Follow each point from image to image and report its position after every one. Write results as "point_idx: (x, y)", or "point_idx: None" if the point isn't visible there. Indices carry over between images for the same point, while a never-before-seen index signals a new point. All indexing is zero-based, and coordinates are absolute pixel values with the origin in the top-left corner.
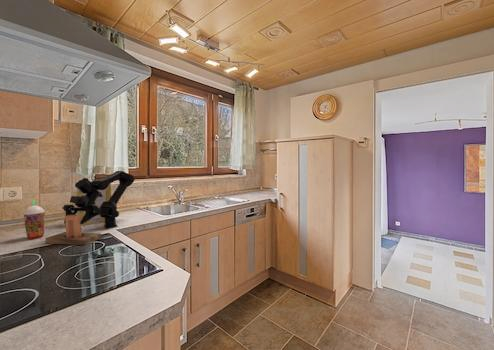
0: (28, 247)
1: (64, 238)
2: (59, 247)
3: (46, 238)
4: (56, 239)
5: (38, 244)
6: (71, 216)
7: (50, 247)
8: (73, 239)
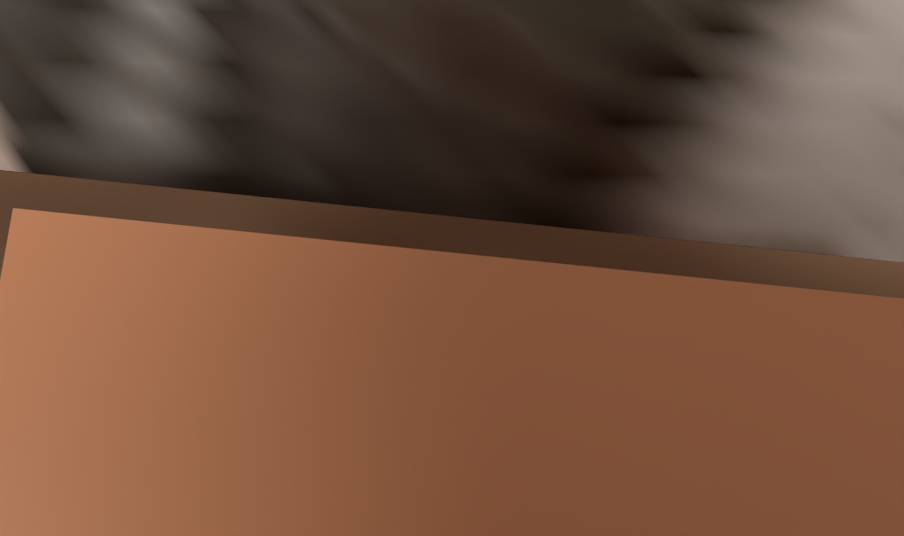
0: (890, 70)
1: (435, 249)
2: (316, 55)
3: (875, 260)
4: (620, 240)
5: (882, 213)
6: (517, 266)
7: (504, 60)
8: (110, 183)
